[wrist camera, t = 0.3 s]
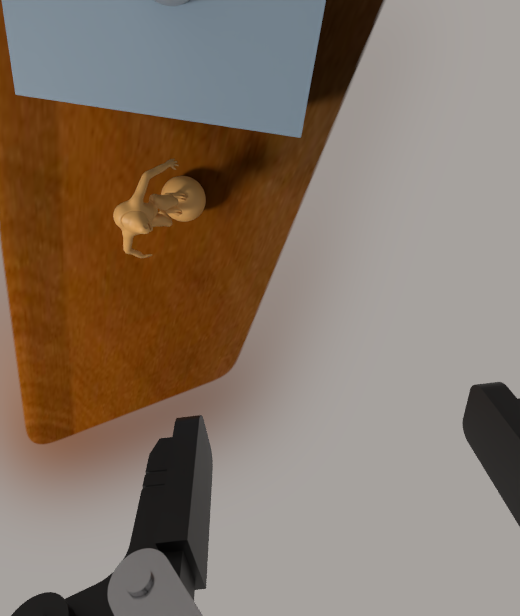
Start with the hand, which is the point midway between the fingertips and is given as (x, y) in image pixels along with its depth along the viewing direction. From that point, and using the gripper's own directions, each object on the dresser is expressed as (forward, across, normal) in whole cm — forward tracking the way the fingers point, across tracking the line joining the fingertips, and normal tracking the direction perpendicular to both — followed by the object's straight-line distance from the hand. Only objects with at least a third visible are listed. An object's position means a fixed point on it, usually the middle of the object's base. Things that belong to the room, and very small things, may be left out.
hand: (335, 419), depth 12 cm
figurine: (+30, +9, 0) cm, 31 cm away
